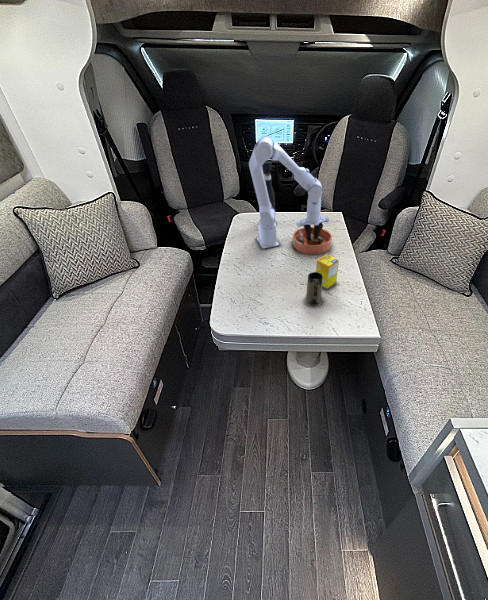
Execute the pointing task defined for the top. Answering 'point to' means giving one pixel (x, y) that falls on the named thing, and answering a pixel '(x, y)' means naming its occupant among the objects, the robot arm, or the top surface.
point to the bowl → (309, 248)
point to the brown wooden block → (312, 240)
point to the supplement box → (327, 270)
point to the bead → (320, 240)
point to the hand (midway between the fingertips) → (312, 238)
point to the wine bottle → (269, 182)
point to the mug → (314, 289)
